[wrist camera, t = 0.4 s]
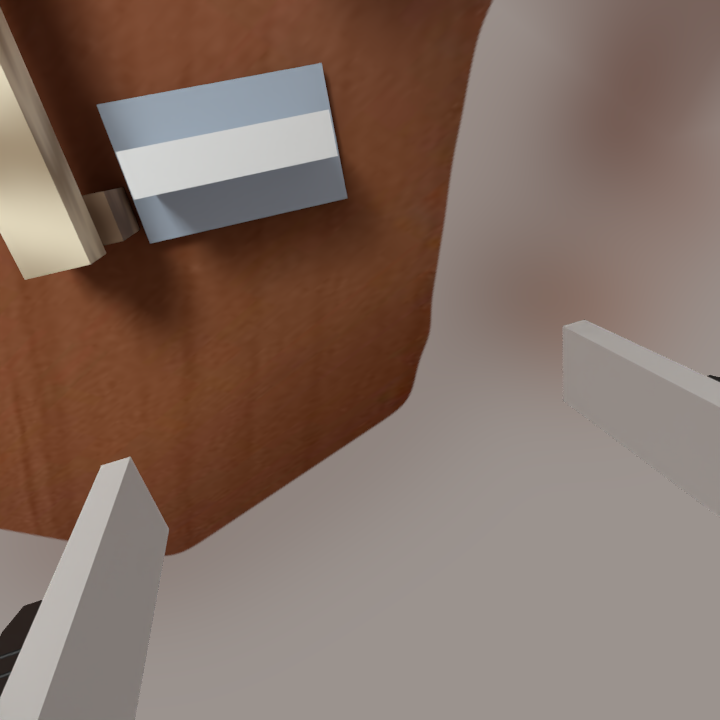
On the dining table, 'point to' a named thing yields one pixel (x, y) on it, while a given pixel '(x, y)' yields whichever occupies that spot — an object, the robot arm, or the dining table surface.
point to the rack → (111, 215)
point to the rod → (37, 179)
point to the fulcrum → (227, 151)
